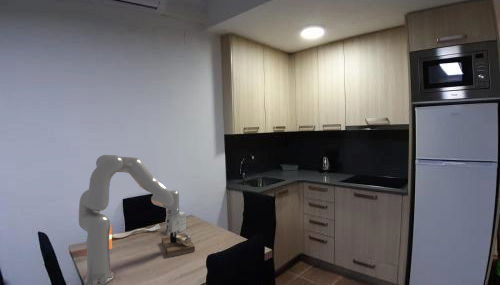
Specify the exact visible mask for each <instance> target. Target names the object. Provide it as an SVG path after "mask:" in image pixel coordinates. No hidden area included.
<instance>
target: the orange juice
mask: <svg viewBox="0 0 500 285" xmlns="http://www.w3.org/2000/svg"><path fill="white" fill-rule="evenodd" d="M112 241H113V238H112V225H111V226H110V234H109V245H110V250H111V249H113V244H112V243H113V242H112Z"/></svg>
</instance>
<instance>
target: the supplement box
mask: <svg viewBox="0 0 500 285" xmlns="http://www.w3.org/2000/svg"><path fill="white" fill-rule="evenodd" d="M179 213H180V216H181V228H180V229H179V230H178V231H177V233H178V234H181V232H184V231H186V230H187V213H186V212H184V211H180V210H179Z"/></svg>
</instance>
